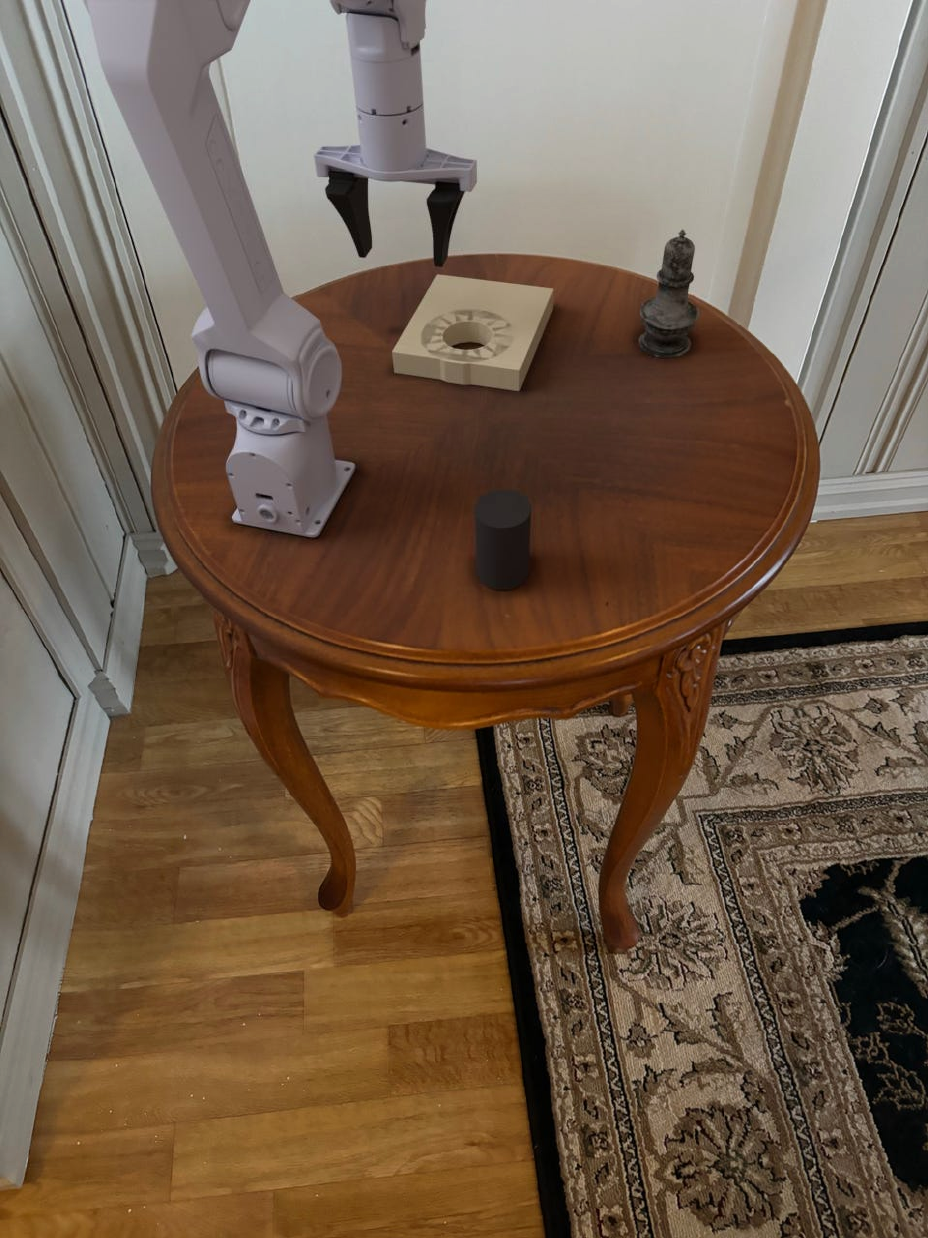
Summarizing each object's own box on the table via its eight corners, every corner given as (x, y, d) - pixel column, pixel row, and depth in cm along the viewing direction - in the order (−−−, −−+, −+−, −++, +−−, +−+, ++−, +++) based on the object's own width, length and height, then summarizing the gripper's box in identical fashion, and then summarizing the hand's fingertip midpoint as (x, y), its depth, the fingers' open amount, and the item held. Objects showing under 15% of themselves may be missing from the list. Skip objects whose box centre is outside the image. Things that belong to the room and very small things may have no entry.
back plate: (518, 393, 87) (519, 371, 85) (393, 374, 89) (390, 352, 87) (552, 309, 96) (554, 288, 94) (438, 294, 99) (437, 273, 97)
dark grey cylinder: (521, 595, 70) (523, 532, 65) (470, 585, 71) (468, 522, 66) (534, 558, 73) (536, 494, 67) (484, 548, 74) (483, 485, 68)
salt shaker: (625, 348, 91) (639, 234, 82) (651, 321, 94) (668, 208, 85) (677, 366, 89) (698, 251, 79) (703, 337, 92) (725, 224, 82)
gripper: (485, 90, 76) (487, 244, 86) (326, 78, 78) (347, 228, 89) (462, 124, 71) (467, 281, 82) (295, 110, 74) (320, 264, 85)
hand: (403, 256), depth 85 cm, fingers open, 7 cm apart
